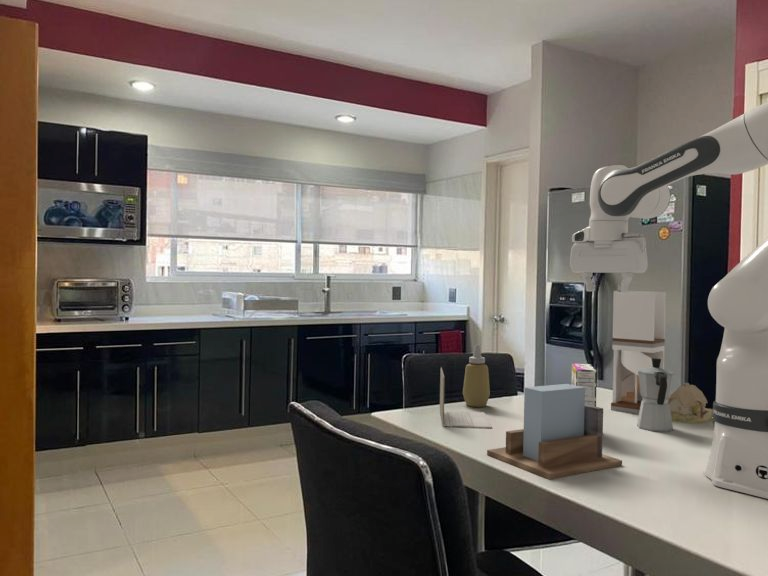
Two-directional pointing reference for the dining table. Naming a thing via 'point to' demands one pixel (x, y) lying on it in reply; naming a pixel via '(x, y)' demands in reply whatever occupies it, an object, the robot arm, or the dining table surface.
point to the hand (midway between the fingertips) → (606, 291)
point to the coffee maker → (655, 398)
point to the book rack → (561, 450)
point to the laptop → (460, 414)
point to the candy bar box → (585, 381)
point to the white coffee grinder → (635, 343)
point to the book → (552, 415)
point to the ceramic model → (689, 405)
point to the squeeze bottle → (476, 381)
